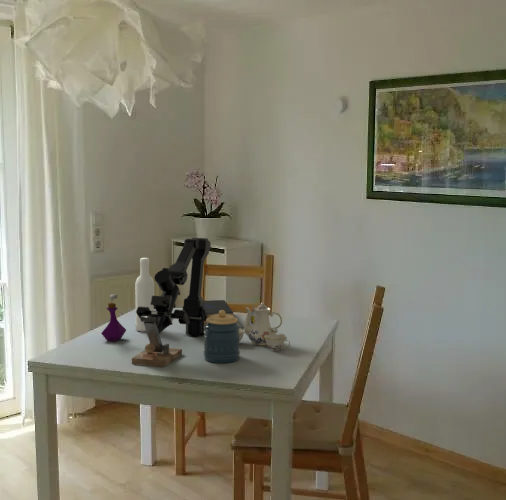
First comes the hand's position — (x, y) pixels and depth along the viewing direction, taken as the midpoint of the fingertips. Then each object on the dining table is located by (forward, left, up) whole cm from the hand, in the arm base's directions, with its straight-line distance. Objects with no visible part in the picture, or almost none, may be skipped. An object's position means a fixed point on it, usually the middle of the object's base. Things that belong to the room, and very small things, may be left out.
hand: (155, 335), depth 233 cm
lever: (-2, -2, -6) cm, 7 cm away
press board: (-2, -2, -9) cm, 9 cm away
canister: (-22, +8, -9) cm, 25 cm away
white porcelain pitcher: (-49, -23, -9) cm, 55 cm away
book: (-41, -46, -9) cm, 62 cm away
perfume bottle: (+6, -32, -9) cm, 34 cm away
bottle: (-10, -42, -9) cm, 44 cm away
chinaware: (-43, -3, -9) cm, 44 cm away
